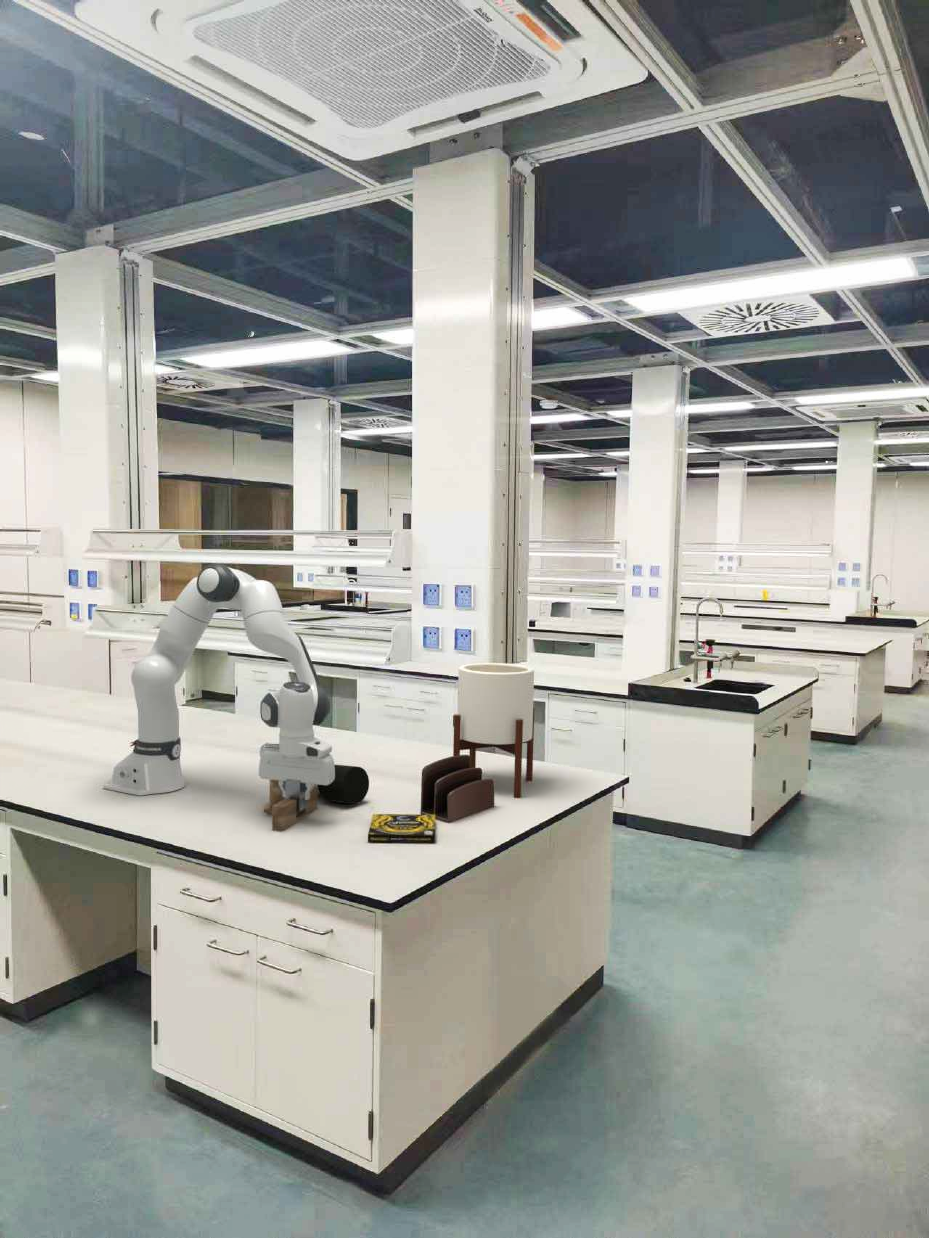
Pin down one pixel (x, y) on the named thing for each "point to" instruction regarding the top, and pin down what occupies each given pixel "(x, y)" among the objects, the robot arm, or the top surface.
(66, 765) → the top surface
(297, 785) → the block
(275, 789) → the bobbin
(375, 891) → the top surface
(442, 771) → the letter holder
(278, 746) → the robot arm
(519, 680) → the plant pot with stand
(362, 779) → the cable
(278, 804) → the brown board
